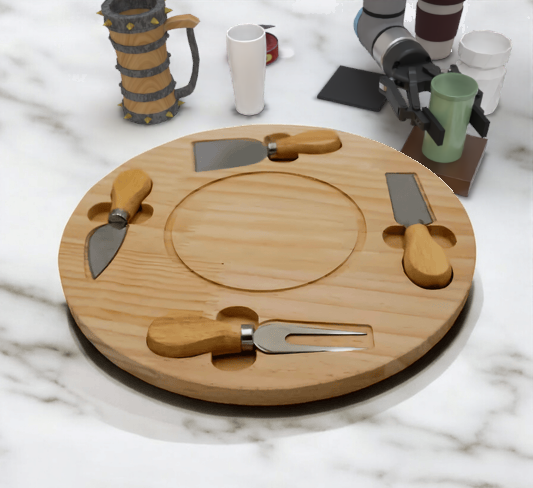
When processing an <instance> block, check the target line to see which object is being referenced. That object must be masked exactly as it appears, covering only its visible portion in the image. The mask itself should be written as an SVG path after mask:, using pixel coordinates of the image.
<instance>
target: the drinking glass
mask: <svg viewBox="0 0 533 488" xmlns="http://www.w3.org/2000/svg"><path fill="white" fill-rule="evenodd" d="M259 25H260V24H256V23H247V22H246V23H239V24H235V25H233V26H231V27H229V28H228V29H227V30H226V33H225V40H226V41H225V42H226V55H227V62H228V67H229V74H230V79H231V85H232V91H233V96H234V97H233V98H234V108H235V110H236V111H237V112H238V113H239V114H241V115H244V116H256V115H258V114H260V113H262V111H263V110H264V108H265V86H266V69H267V66H266V35H265V32H266V29H264V28H262V27H261V26H259Z"/></svg>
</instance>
